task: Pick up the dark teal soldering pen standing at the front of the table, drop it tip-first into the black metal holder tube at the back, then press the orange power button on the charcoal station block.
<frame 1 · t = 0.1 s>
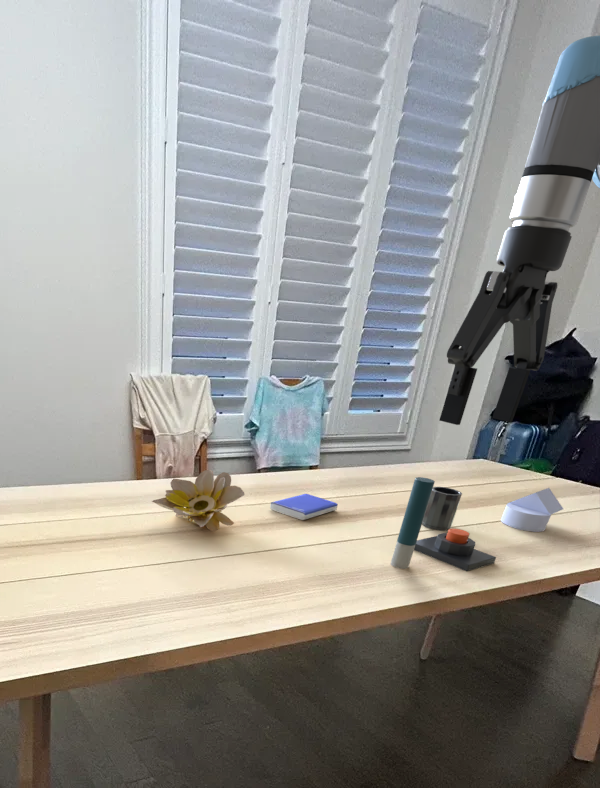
hand: (476, 421, 87), 24 cm above the table, tool pointing down, fingers open, 13 cm apart
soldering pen: (399, 565, 106), on the table
hard drive: (303, 511, 128), on the table
station: (450, 555, 113), on the table
wedge on round base: (525, 524, 137), on the table
pen holder: (435, 526, 128), on the table
power button: (457, 536, 111), point 3 cm above the table, slide at 0.1 cm
decorative flower: (192, 523, 114), on the table
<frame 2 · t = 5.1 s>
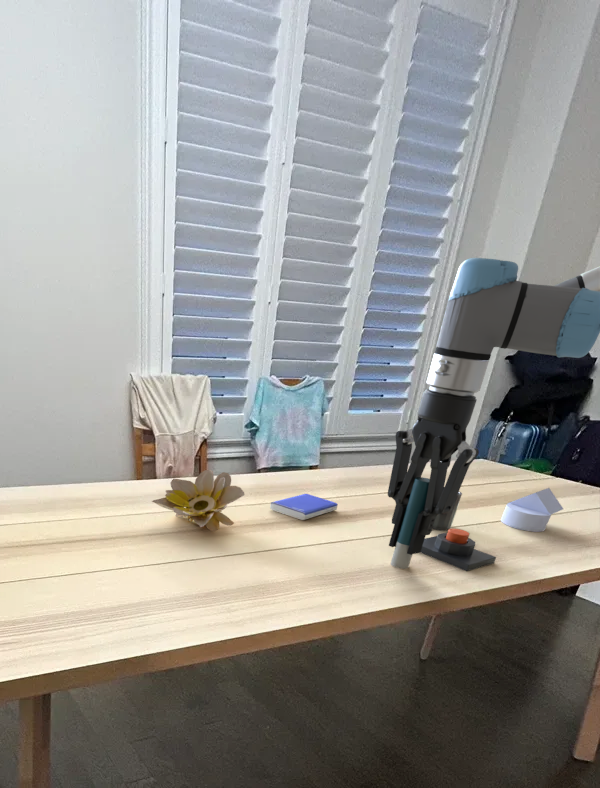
hand: (404, 548, 104), 3 cm above the table, tool pointing down, fingers closed on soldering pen, 3 cm apart
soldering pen: (399, 565, 106), on the table, touching gripper
everything else where it was.
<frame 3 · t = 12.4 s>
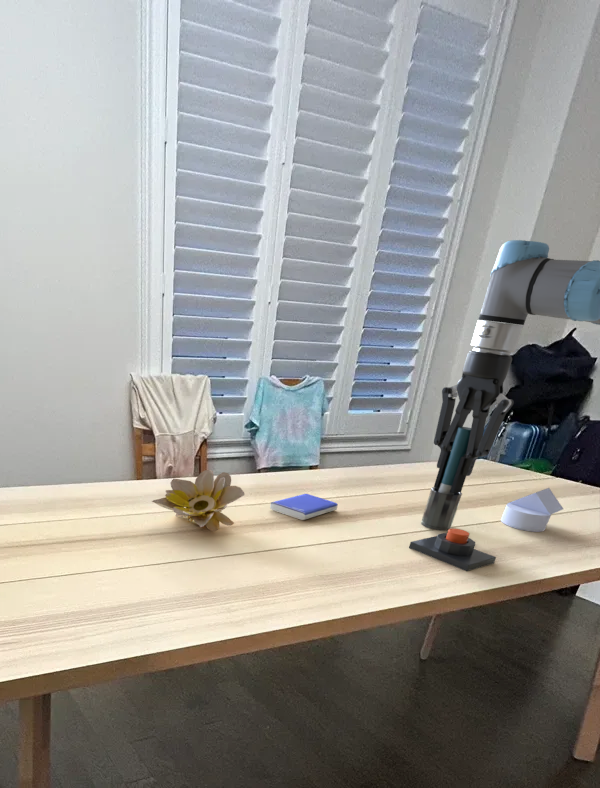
hand: (447, 489, 124), 7 cm above the table, tool pointing down, fingers closed on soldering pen, 3 cm apart
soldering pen: (442, 504, 125), point 4 cm above the table, touching gripper
everything else where it was.
when the fingers open (8 cm above the table, at t = 14.9 s): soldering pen drops 5 cm, resting on pen holder.
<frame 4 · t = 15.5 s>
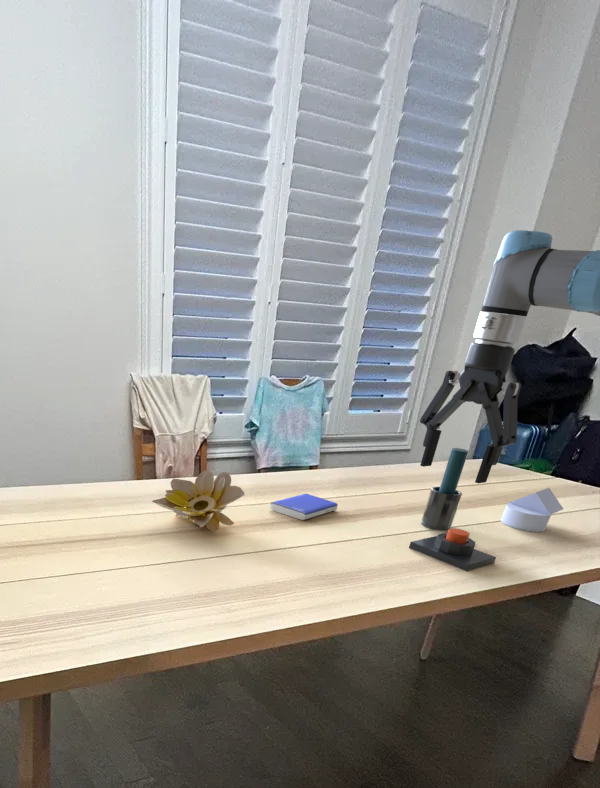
hand: (452, 473, 122), 10 cm above the table, tool pointing down, fingers open, 11 cm apart
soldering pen: (436, 523, 127), point 1 cm above the table, touching pen holder
everything else where it was.
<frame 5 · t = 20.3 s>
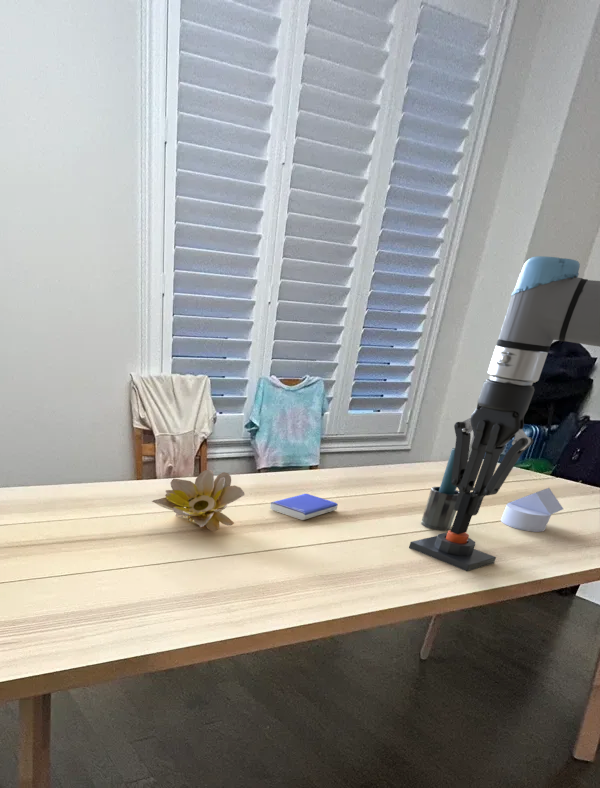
hand: (458, 531, 111), 4 cm above the table, tool pointing down, fingers closed
power button: (456, 538, 111), point 3 cm above the table, slide at -0.2 cm, touching gripper
everything else where it was.
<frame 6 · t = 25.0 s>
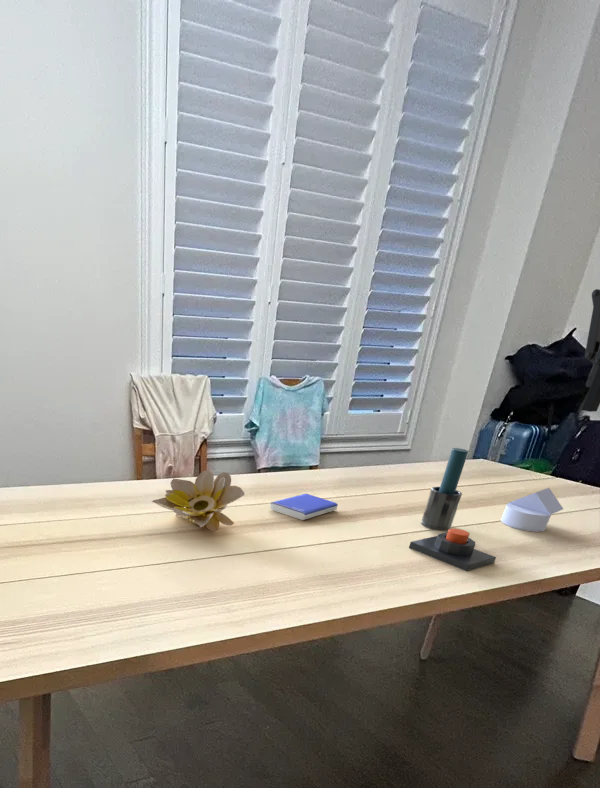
hand: (588, 410, 107), 24 cm above the table, tool pointing down, fingers closed
power button: (457, 536, 111), point 3 cm above the table, slide at 0.1 cm
everything else where it was.
at the end: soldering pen 0.1 cm off-centre in the pen holder, point 0.6 cm above the pen holder's base; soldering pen tilted 0°; power button pushed in 1.0 cm at the most during the clip, back to where it started at the end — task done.
